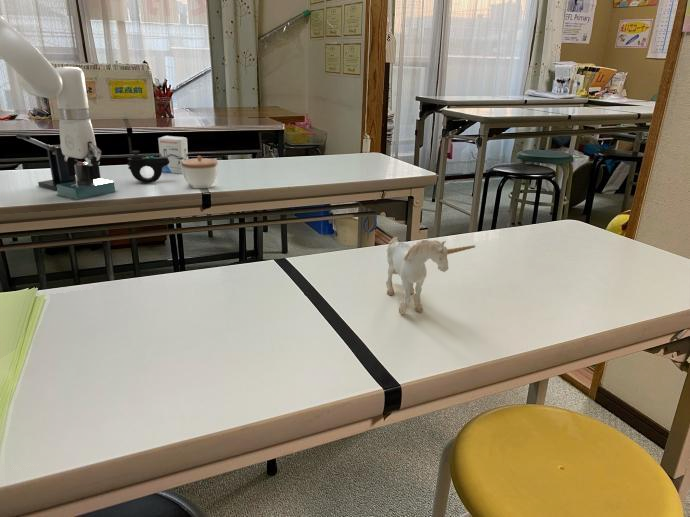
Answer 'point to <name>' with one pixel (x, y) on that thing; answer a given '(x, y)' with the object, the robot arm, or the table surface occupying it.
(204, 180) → the trinket box
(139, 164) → the black holed piece
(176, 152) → the ink box
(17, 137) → the lever
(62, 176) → the toaster bracket
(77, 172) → the dial
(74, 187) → the dial panel
